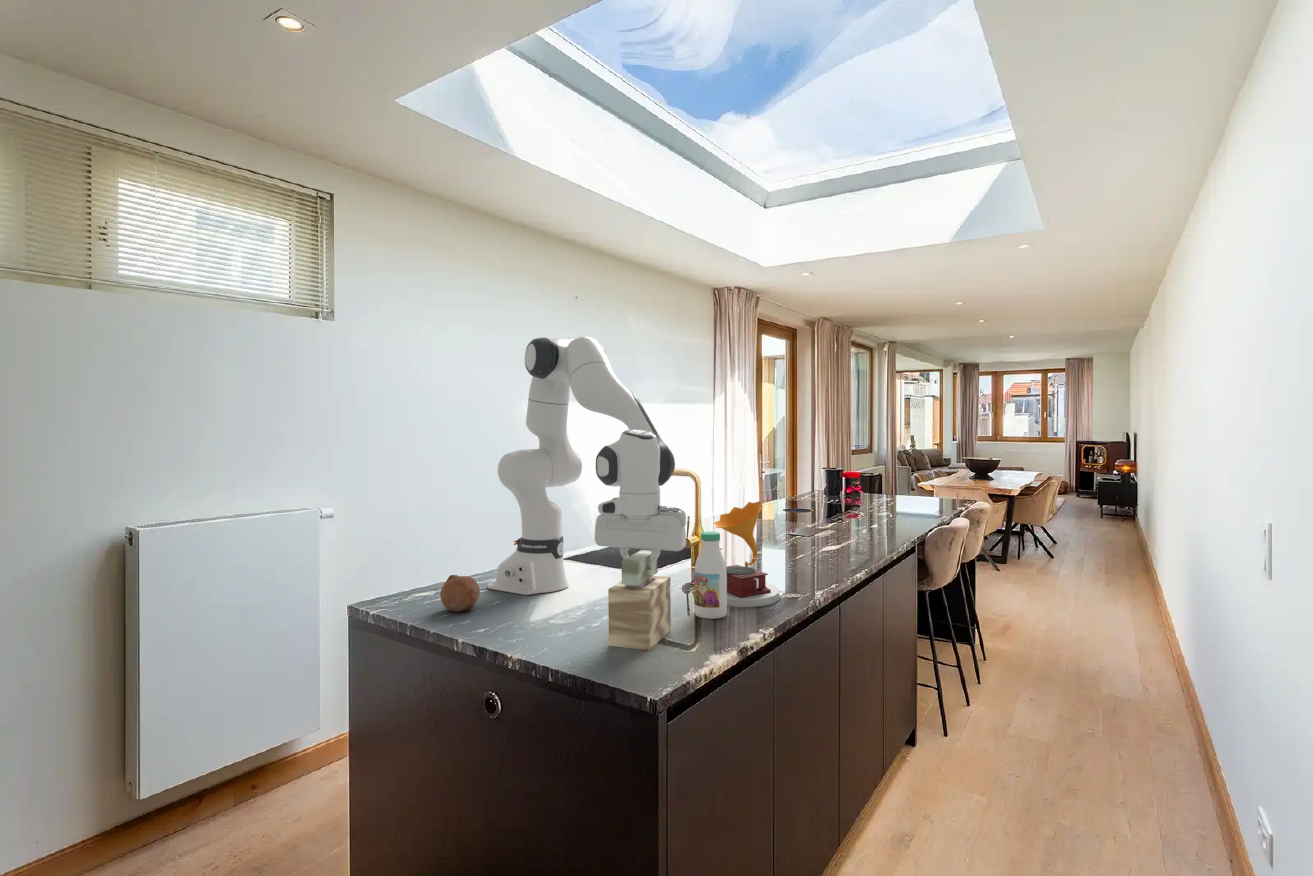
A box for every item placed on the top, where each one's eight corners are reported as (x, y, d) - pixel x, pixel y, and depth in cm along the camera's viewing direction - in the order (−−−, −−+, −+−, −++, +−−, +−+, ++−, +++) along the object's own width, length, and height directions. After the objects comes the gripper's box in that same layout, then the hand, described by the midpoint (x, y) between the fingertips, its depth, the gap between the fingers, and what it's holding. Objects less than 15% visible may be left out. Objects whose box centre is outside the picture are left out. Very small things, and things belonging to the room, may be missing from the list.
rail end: (637, 604, 143) (637, 561, 142) (621, 603, 144) (621, 560, 143) (657, 590, 154) (657, 550, 153) (642, 589, 155) (642, 549, 155)
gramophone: (745, 583, 196) (745, 496, 196) (796, 599, 179) (796, 504, 178) (686, 593, 185) (686, 501, 185) (734, 612, 168) (734, 510, 167)
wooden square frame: (649, 650, 141) (648, 592, 141) (608, 645, 144) (608, 589, 144) (670, 630, 154) (670, 577, 154) (633, 626, 157) (633, 574, 157)
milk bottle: (709, 608, 171) (708, 528, 170) (733, 615, 165) (733, 532, 165) (688, 615, 166) (687, 532, 165) (712, 622, 160) (712, 536, 159)
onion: (445, 623, 171) (427, 587, 171) (476, 605, 177) (459, 570, 177) (460, 617, 164) (442, 579, 164) (492, 599, 170) (474, 562, 171)
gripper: (690, 505, 148) (690, 569, 148) (603, 501, 155) (603, 562, 155) (681, 509, 142) (681, 575, 142) (591, 505, 149) (591, 568, 149)
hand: (640, 568), depth 149 cm, fingers closed on rail end, 4 cm apart
